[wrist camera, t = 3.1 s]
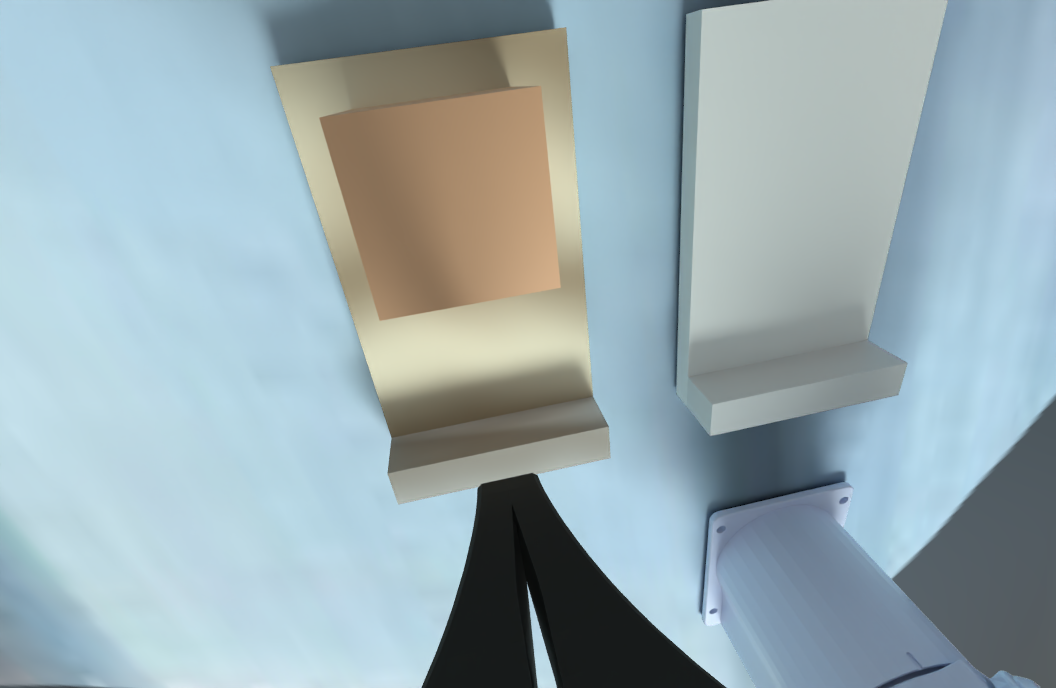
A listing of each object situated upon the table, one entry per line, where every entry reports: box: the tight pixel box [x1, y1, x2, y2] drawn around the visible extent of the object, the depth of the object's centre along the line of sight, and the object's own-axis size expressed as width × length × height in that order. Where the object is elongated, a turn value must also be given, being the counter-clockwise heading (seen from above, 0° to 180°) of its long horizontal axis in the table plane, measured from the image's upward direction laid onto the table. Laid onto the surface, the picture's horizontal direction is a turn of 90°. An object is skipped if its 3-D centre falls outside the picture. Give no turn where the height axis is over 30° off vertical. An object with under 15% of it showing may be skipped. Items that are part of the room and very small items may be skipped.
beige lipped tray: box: [270, 27, 610, 504], centre depth 16 cm, size 14×8×3 cm, turn 7°
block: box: [319, 86, 561, 321], centre depth 13 cm, size 4×4×4 cm
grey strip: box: [676, 0, 948, 436], centre depth 17 cm, size 14×8×3 cm, turn 7°
